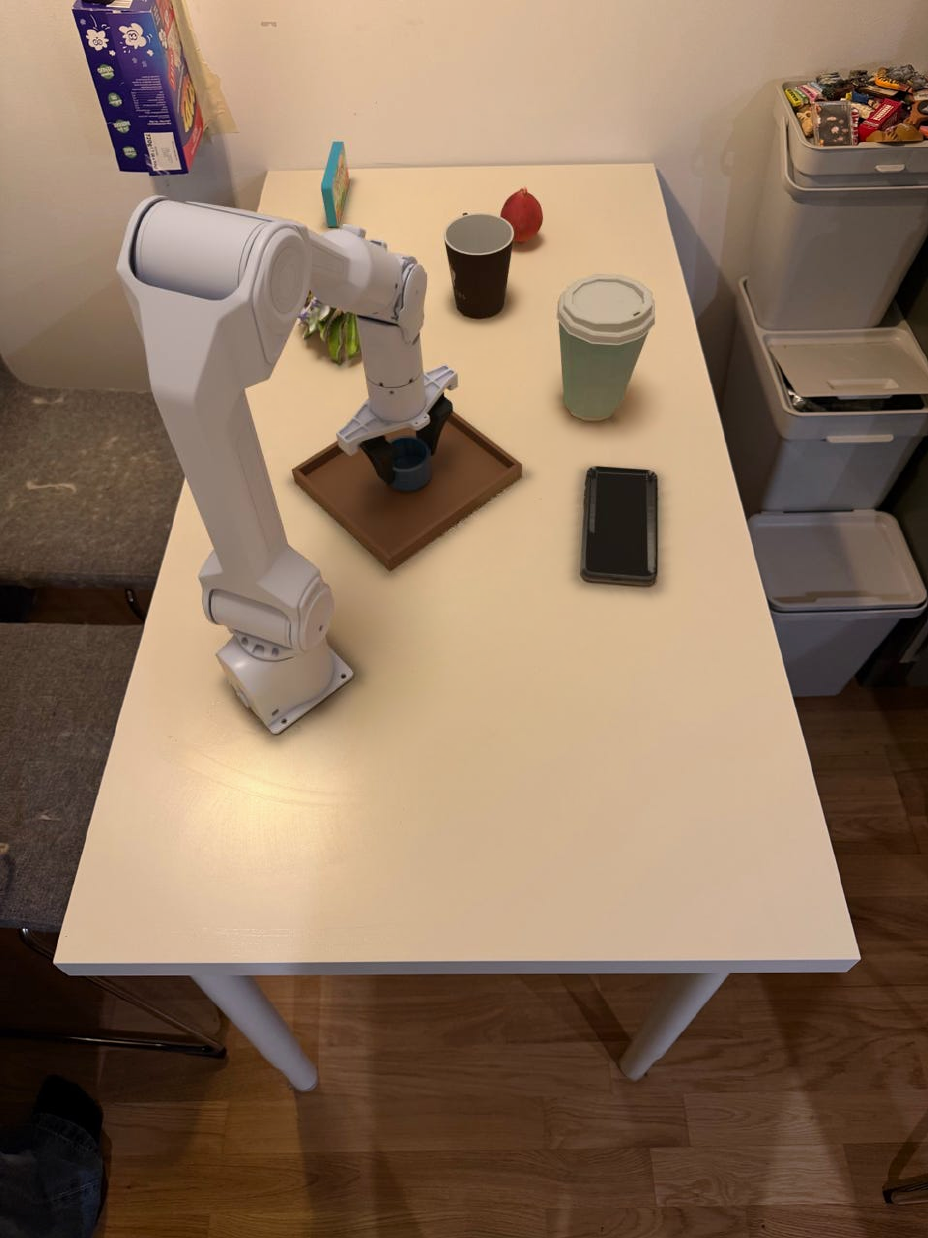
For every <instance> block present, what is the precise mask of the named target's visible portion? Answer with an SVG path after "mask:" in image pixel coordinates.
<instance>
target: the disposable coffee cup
mask: <svg viewBox="0 0 928 1238" xmlns="http://www.w3.org/2000/svg"><path fill="white" fill-rule="evenodd" d="M555 319H556V320H557V321H558V333H559V334H558V335H559V336H558V337H559V347H560V348H559V349H560V350H559V351H560V364H561V379H562V380H561V381H562V393H563V396H562V397H563V402H564V404H565V407H566V408H567V410H568V412H570V414H571V415H572V416H574V417H576V418H578V419H580V420H582V421H588V422H589V421H590V422H600V421H602V420H607V419H609V418H610V417H611V416H612V415H613V414H614V413H615V412H616V411H617V410H618V408H619V407H620V406H621V405H622V401H623V400H624V399H623V398H624V396H625V395H626V391H627V389H628V386H629V383H630V381H631V378H632V375H633V373H634V371H635V368H636V365H637V363H638V360H639V357H640V355H641V352H642V350H643V347H644V344H645V343H646V340H647V337H648V334H649V332H650V330H651V329H652V328H653V327H654V326H655V325H656V302H655V299H654V298H653V292H652V291H651V290H650V289H649V288H648V287H647V286H646V285H645V284H644V283H642V282H641V281H640V280H638V279H635V278H632V277H629V276H627V275H626V276H625V275H623V274H619V273H618V274H616V273H615V274H612V273H595V274H592V275H589V276H586V277H582V278H579V279H576V281H574V282H572V283H571V284H570V285H569V286H568V287H567V288H566V289H565V290H563V291H562V292H561V293H560V294H559V298H558V300H557V306H556V318H555Z"/></svg>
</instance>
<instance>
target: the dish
mask: <svg viewBox="0 0 928 1238" xmlns="http://www.w3.org/2000/svg"><path fill="white" fill-rule="evenodd" d="M388 442H389V443H390V444H392V445H393V446H394V447H395V448H396V450H395V452H394V456H393V471H394V482H393V483H391V484H390V485H389V486H390V487H392V488H394V489H396V490H399V491H414V490H417V489H420V488H422V487H423V486H425V485H426V484H427V483H428V481H429V480H430V478H431V475H432V463H431V452H430V448H429V446H428V444H427V443H426V442H425V441H424V440H422V439H421V438H418V437H415V436H412V435H402V436H399V437H395V438H393V439H391V440H390V441H388Z"/></svg>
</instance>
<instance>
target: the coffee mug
mask: <svg viewBox="0 0 928 1238" xmlns="http://www.w3.org/2000/svg"><path fill="white" fill-rule="evenodd" d="M513 238H514V230H513V227H512V226H511V224H510V223H509V222H508V221H507V220H505V219H503V218H502V217H500V215H496V214H492V213H487V212H475V213H474V212H473V213H468V212H463V213H462V215H461V216H459V217H457V218H454V219H453V220H452V221H450V222H449V223H448V224H447V225H446V227H444V231H443V240H444V244H445V245H444V246H445V251H446V258H447V262H448V268H449V274H450V279H451V284H452V285H451V286H452V291H453V296H454V300H455V307H456V310H457V311H458V312H459V313H460V314H461V315H462V316H465V317H466V318H469V319H474V320H485V319H489V318H493V317H495V316H497V315H498V314H499V313H501V311H503V309H504V306H505V302H506V301H505V300H506V294H507V287H508V280H509V274H510V267H511V259H512V252H513V244H514V240H513Z"/></svg>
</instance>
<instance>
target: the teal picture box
mask: <svg viewBox="0 0 928 1238" xmlns="http://www.w3.org/2000/svg"><path fill="white" fill-rule="evenodd" d="M330 147H331V148H330V151H329V155H328V158H327V162H326V165H325V170H324V173H323V177H322V180H321V183H320V191H321V197H322V203H323V208H324V214H325V219H326V224H327V227H328V228H329V227H331V228H338V227H339V226H340V223H341V218H342V214H343V210H344V206H345V202H346V199H347V193H348V190H349V185H350V175H349V169H348V161H347V155H346V149H345V142H344V141H332V143H331V146H330Z"/></svg>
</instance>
